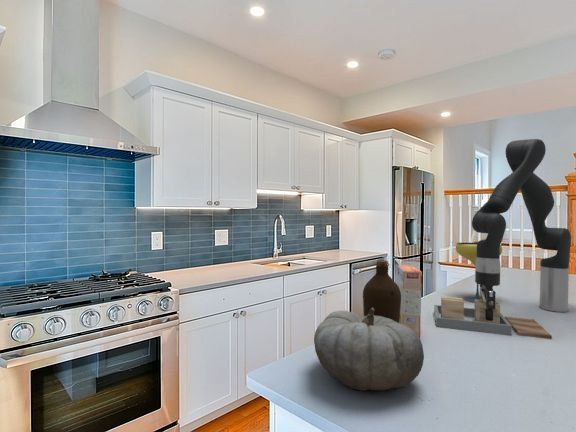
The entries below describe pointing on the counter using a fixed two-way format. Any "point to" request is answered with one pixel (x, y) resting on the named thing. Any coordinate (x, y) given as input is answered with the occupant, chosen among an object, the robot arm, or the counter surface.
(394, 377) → the gourd
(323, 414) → the counter surface
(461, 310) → the plain box
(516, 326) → the board
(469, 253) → the cocktail glass
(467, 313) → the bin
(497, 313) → the tan box
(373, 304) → the olive oil
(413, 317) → the cracker box
